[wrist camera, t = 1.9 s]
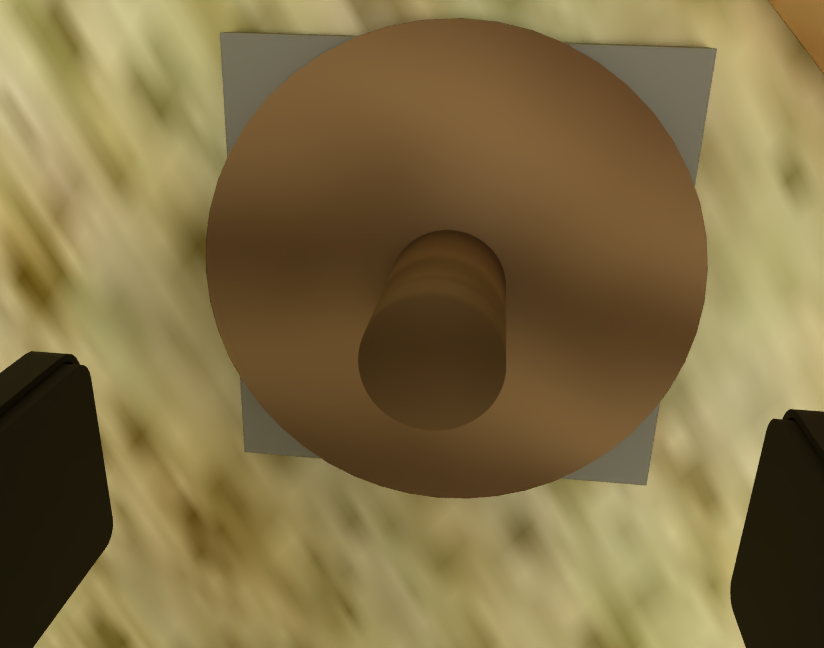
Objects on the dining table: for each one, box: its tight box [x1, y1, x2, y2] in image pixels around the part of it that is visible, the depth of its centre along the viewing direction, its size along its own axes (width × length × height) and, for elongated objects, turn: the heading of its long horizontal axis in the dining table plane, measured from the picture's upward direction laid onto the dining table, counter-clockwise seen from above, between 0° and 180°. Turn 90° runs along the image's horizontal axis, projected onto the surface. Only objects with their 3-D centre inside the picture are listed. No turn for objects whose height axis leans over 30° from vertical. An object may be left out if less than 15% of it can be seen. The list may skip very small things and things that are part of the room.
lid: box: [206, 18, 708, 498], centre depth 18 cm, size 13×13×6 cm
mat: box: [220, 32, 717, 485], centre depth 22 cm, size 12×12×1 cm
